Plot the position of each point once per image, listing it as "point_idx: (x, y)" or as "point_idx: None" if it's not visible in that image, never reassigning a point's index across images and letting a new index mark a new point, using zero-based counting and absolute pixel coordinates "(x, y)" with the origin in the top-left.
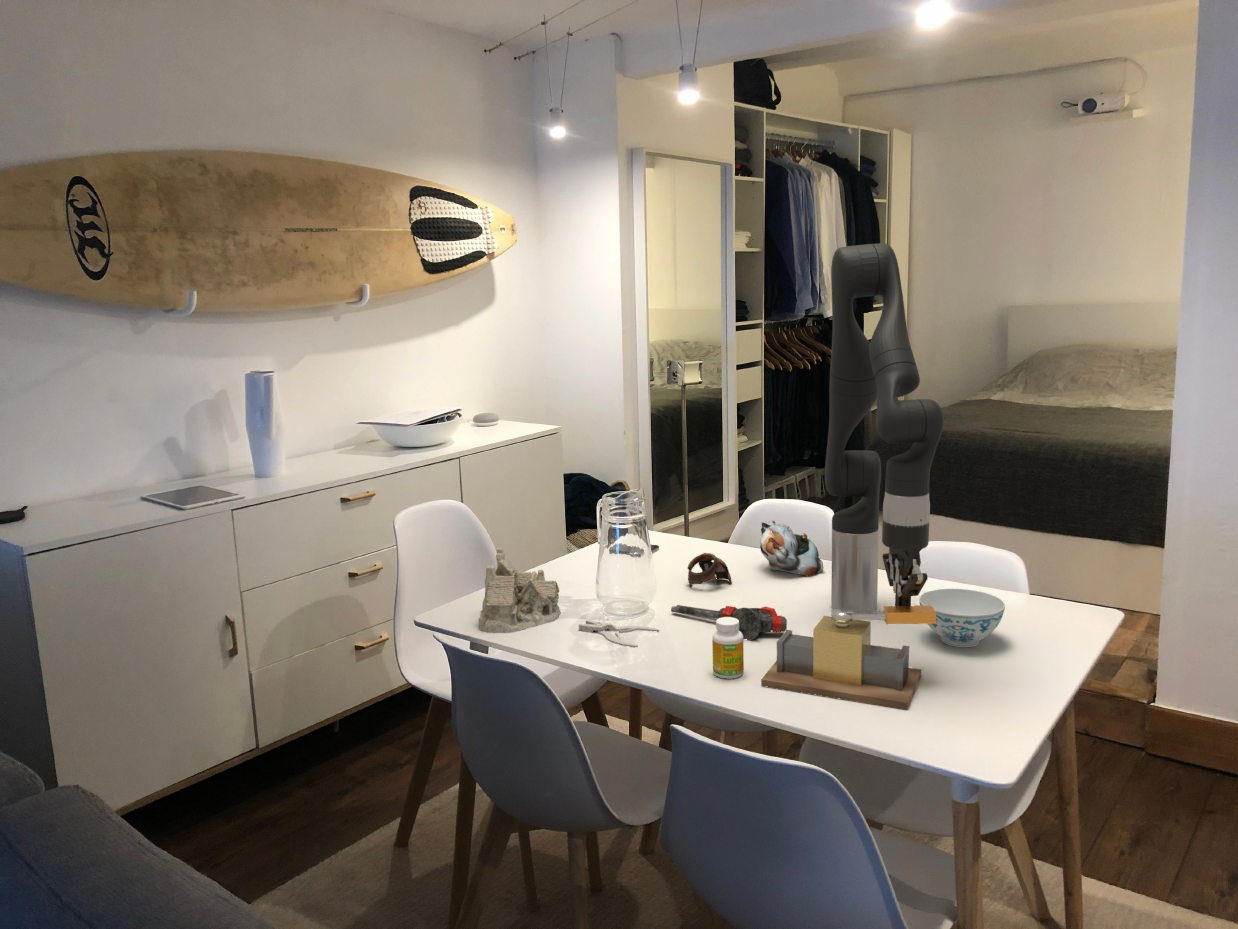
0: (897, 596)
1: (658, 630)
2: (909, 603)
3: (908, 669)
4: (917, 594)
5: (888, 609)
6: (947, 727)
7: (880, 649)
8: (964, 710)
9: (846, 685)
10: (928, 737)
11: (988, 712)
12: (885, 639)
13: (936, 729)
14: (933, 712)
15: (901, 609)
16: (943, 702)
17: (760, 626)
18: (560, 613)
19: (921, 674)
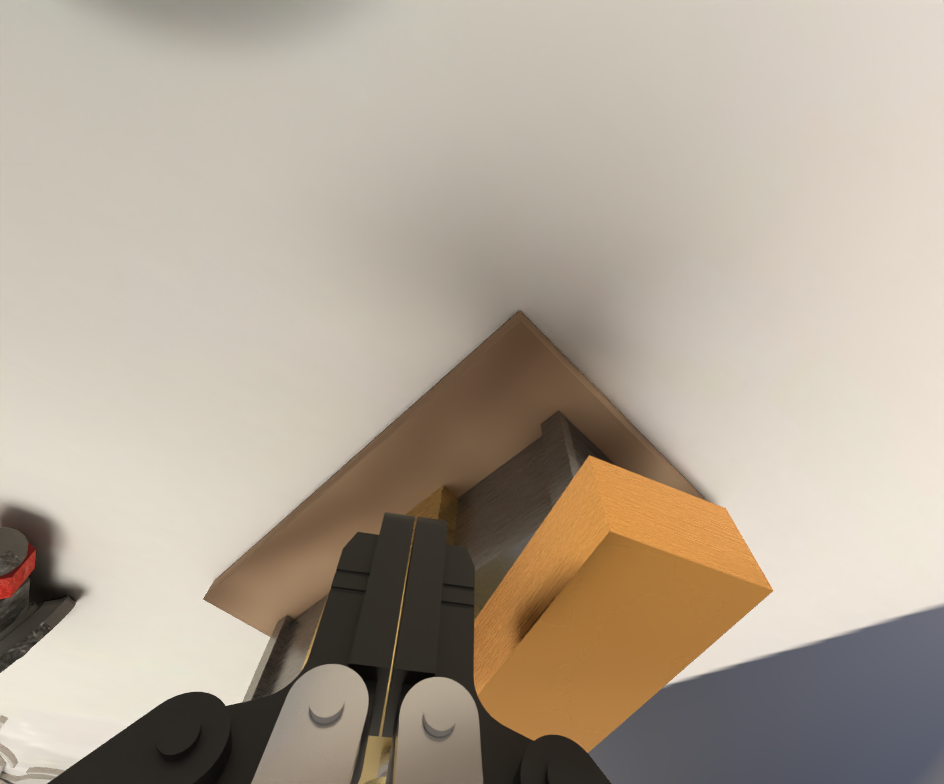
0: (391, 731)
1: (2, 721)
2: (470, 637)
3: (566, 433)
4: (596, 777)
5: None
6: (880, 476)
7: None
8: (847, 357)
9: None
10: (874, 547)
11: (932, 288)
12: (73, 195)
13: (861, 507)
14: (778, 452)
15: (551, 718)
16: (749, 380)
17: (19, 610)
18: None
19: (519, 312)
